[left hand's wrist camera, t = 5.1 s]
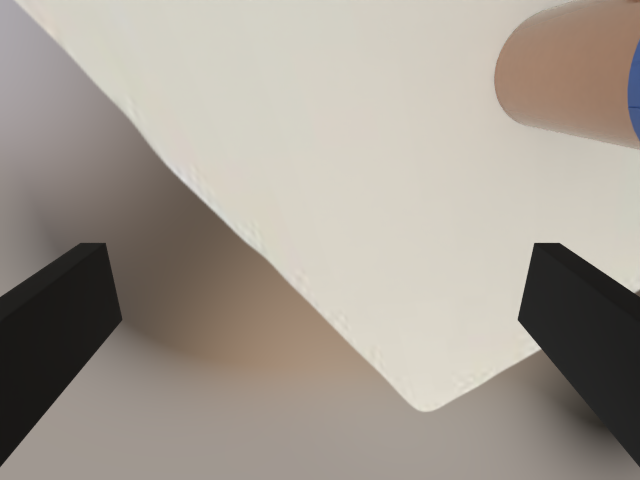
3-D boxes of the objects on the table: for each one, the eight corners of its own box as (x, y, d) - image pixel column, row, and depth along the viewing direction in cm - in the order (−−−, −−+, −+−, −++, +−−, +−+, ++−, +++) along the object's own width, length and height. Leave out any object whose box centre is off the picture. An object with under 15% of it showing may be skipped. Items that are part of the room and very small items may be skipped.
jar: (478, 45, 35) (652, 5, 17) (591, -17, 33) (923, -138, 15) (513, 146, 38) (690, 205, 20) (617, 94, 37) (916, 107, 18)
